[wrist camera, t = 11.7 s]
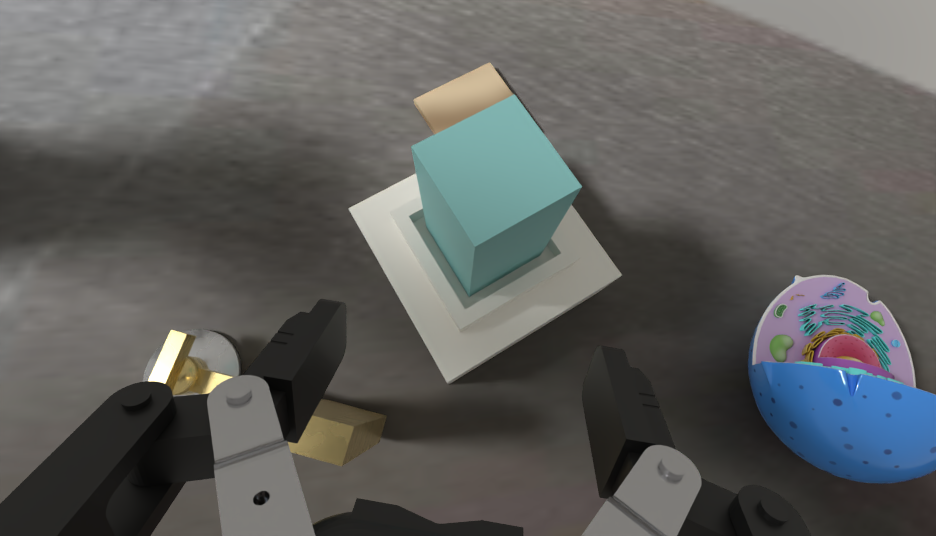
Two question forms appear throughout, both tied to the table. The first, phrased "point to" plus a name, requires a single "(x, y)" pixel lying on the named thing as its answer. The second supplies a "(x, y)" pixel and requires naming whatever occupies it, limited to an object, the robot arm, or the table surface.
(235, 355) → the key socket
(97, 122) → the table surface
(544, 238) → the teal upright prism
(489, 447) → the table surface
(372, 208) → the housing
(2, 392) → the table surface
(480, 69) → the pad
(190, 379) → the key lever
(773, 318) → the cell model
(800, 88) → the table surface
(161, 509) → the robot arm
